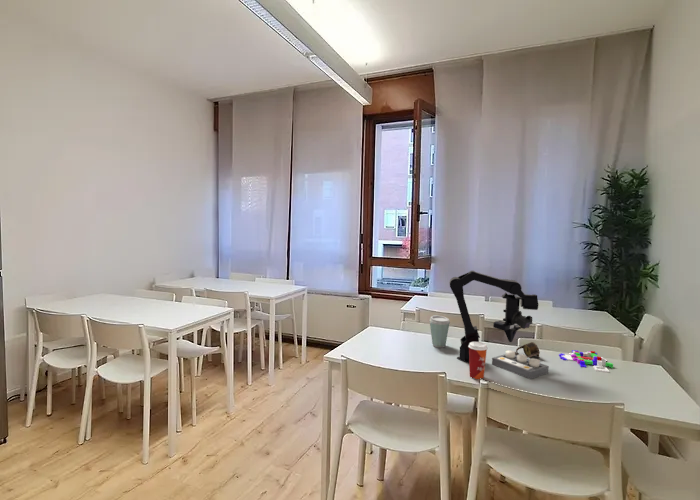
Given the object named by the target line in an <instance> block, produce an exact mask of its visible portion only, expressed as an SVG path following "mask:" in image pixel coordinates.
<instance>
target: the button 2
mask: <svg viewBox="0 0 700 500" xmlns="http://www.w3.org/2000/svg"><path fill="white" fill-rule="evenodd" d="M540 363H541V362H540V359H537V358H534V357H530V358H529V366H531V367H533V368H539V365H540Z"/></svg>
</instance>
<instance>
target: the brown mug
mask: <svg viewBox="0 0 700 500" xmlns="http://www.w3.org/2000/svg"><path fill="white" fill-rule="evenodd" d="M521 349H522V350H523V354H524V355H526V356H527V359H531V358H534V357H535V356H536V358H540V349H539V347H538V345H537V344H536V342H532V341H531V342H528V343H525V344H523V345H521V346H519V347H517V348H516V350H515V351H514V352H515V355H518V354H520V352H518V351H519V350H521Z"/></svg>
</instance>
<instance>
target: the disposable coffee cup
mask: <svg viewBox="0 0 700 500" xmlns="http://www.w3.org/2000/svg"><path fill="white" fill-rule="evenodd" d="M428 321H429V326H430V327H429V328H430V334H431V335H430V336H431V343H432V346H433V347H435V348H445V347H446V344H447V339H448V332H449V328H450V324H451V320H450V319H449V317H446V316H443V315H430V318H429V320H428Z"/></svg>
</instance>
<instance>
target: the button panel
mask: <svg viewBox="0 0 700 500" xmlns="http://www.w3.org/2000/svg"><path fill="white" fill-rule="evenodd" d="M500 357H504V358H505V354H502V355H498V356H494V357H492V358H491V365H493V366H496V367H498V368H500V369H503V370H506V371H508V372H511V373H514V374H517V376H518V375H519V376H521V377H524V378H527V379H529V380H531V379H535V378H537V377H540V376H543V375H546V374H549V368H550V366H549V365H547V364H543V363H541V362H540V365H539V368H533V367H532V369H529V370H526V369H523V368H520V367H517V366H515V365H512V364H509V363H507V362H504V361H501V360H498V359H497V358H500ZM507 359H508V358H507ZM509 360H511V359H509ZM529 360H530V358H527V363H525V364H523V365H526V366H529ZM512 361H515V362H517V355H515V359H512ZM518 363H519V362H518ZM521 364H522V363H521ZM529 367H531V366H529Z"/></svg>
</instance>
